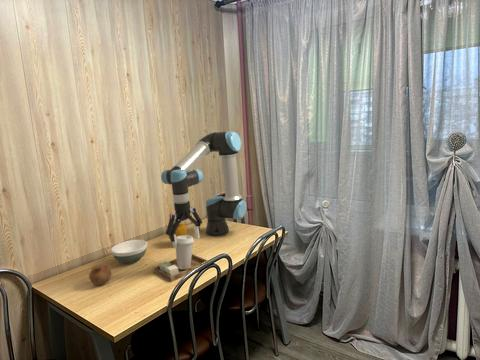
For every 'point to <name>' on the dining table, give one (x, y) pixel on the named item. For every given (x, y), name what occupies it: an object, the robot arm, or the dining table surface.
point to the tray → (182, 272)
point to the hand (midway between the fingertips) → (186, 242)
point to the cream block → (172, 270)
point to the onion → (100, 274)
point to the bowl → (129, 251)
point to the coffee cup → (184, 251)
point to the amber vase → (180, 230)
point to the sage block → (165, 266)
